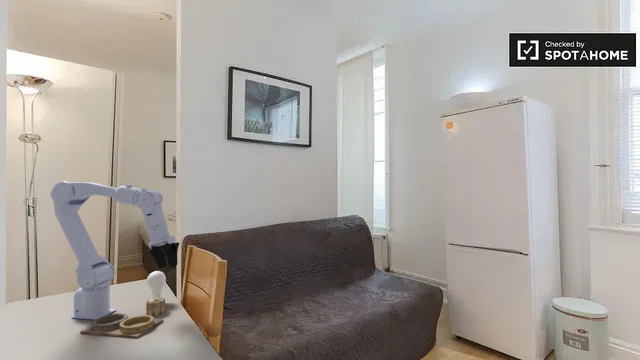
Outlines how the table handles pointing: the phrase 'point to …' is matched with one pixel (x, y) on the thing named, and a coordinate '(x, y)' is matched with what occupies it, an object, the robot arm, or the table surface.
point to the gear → (155, 306)
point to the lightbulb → (156, 283)
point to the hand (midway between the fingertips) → (168, 266)
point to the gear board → (116, 331)
